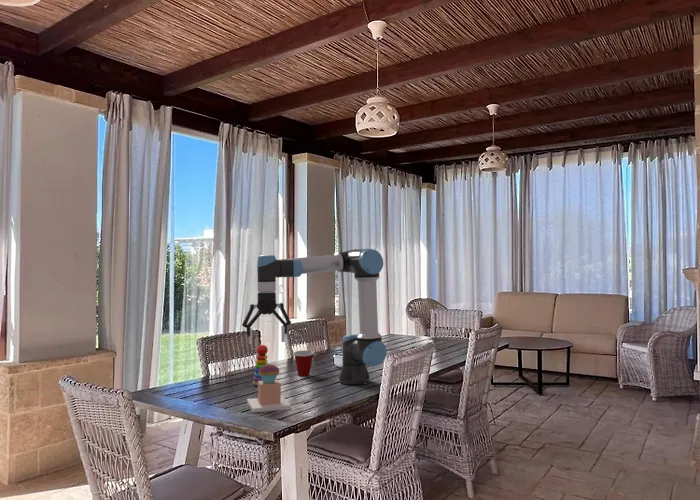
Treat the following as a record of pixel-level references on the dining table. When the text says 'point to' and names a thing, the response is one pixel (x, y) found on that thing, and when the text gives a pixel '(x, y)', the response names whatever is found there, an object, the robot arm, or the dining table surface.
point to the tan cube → (269, 393)
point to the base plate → (268, 405)
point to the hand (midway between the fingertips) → (267, 342)
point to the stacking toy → (259, 363)
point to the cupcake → (268, 372)
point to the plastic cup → (303, 362)
